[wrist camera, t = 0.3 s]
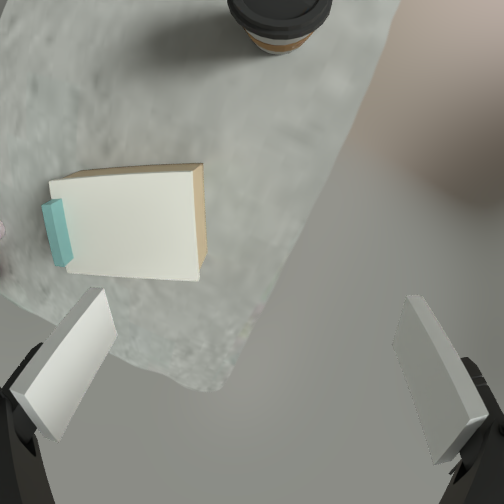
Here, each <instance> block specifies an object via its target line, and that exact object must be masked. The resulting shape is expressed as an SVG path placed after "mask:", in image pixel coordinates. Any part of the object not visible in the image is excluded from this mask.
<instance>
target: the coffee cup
mask: <svg viewBox="0 0 504 504" xmlns="http://www.w3.org/2000/svg"><path fill="white" fill-rule="evenodd" d="M227 4H228V6H229V9H230V12H231V14H232V16H233V17H234V18H235V20H236V21H237V22H238V23H239V24H240V25H241V26H242V27H243V28H244V30H245V31H246V32H247V34H248V35H249V37H250V38H251V39H252V41H253V42H254V43H255V44H256V45H257V46H258V47H259V48H260V49H261V50H263V51H265V52H267V53H271V54H280V55H283V54H287V53H290V52H292V51H294V50H296V49H297V48H298V47H300V46H301V45H302V44H303V43H304V42H305V41H306V40H307V39H308V38H309V37H310V36H311V34H312V33H313V32H314V31H315V30H316V29H317V28H318V27H320V26H321V25H322V24H323V23H324V21H325V20H326V18H327V17H328V15H329V13H330V9H331V5H332V0H227Z"/></svg>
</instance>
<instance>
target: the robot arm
mask: <svg viewBox="0 0 504 504" xmlns="http://www.w3.org/2000/svg"><path fill="white" fill-rule="evenodd" d="M117 337H118V335H117V332H116V328H115V325H114V322H113V319H112V315H111V312H110V308H109V305H108V301H107V298H106V294H105V290H104V288H95V287H90V288H89V289H88V290H87V292H86V293H85V294H84V295H83V296H82V297H81V298H80V300H79V301H78V302H77V303H76V304H75V305H74V307H73V308H72V309H71V310H70V311H69V313H68V314H67V315H66V316H65V317H64V319H63V320H62V321H61V322H60V323H59V325H58V326H57V327H56V328H55V330H54V331H53V332H52V334H50V336H49V337H48V338H47V339H46V341H45V342H44V343H39V344H38V345H37V346H35V347H34V348H32V349H31V350H30V352H29V353H28V354H27V356H26V357H25V359H24V360H23V361H22V362H21V363H20V366H18V367H17V369H16V370H15V371H14V373H13V374H12V375H11V377H10V378H9V379H8V381H7V382H6V383H5V385H4V386H3V388H2V389H1V387H0V504H55V502H54V499H53V496H52V493H51V490H50V486H49V483H48V480H47V476H46V473H45V469H44V465H43V461H42V457H41V453H40V449H39V445H38V440H37V438H36V435H35V434H34V432H35V431H36V429H38V430H39V431H40V433H41V434H42V435H43V436H44V437H45V438H48V439H50V440H53V441H56V442H58V443H59V441H60V439H61V437H62V435H63V433H64V432H65V430H66V428H67V426H68V424H69V422H70V420H71V418H72V416H73V414H74V412H75V411H76V409H77V407H78V405H79V403H80V401H81V399H82V398H83V396H84V394H85V392H86V390H87V388H88V387H89V385H90V383H91V381H92V380H93V378H94V376H95V374H96V372H97V371H98V369H99V367H100V365H101V364H102V362H103V360H104V358H105V357H106V355H107V353H108V352H109V350H110V348H111V347H112V345H113V343H114V342H115V340H116V338H117ZM392 346H393V349H394V351H395V353H396V356H397V359H398V361H399V364H400V366H401V369H402V372H403V374H404V377H405V380H406V382H407V385H408V388H409V390H410V393H411V396H412V399H413V402H414V405H415V408H416V411H417V413H418V416H419V419H420V423H421V426H422V429H423V432H424V435H425V438H426V441H427V445H428V447H429V451H430V454H431V458H432V461H433V465H436V464H441V463H444V462H448V461H451V460H452V459H453V458H454V457H455V456H456V455H457V454H458V453H459V452H460V455H461V458H462V459H461V460H460V461H459V462H458V464H457V465H456V466H455V467H454V468H453V469H452V470H451V471H450V473H449V474H450V475H451V474H452V473H453V472H454V471H455V472H454V474H453V476H452V478H451V481H450V483H449V485H448V487H447V489H446V491H445V493H444V495H443V497H442V499H441V501H440V503H439V504H504V414H503V413H502V411H501V409H500V407H499V405H498V403H497V402H496V399H495V398H494V395H493V393H492V392H491V390H490V388H489V386H488V385H487V382H486V381H485V379H484V377H482V374H481V372H480V370H479V368H478V367H477V365H476V364H475V363H474V362H473V361H471V360H470V359H469V358H468V357H464V358H460V357H459V356H458V354H457V352H456V350H455V349H454V347H453V345H452V344H451V342H450V340H449V338H448V337H447V335H446V333H445V332H444V330H443V328H442V327H441V325H440V323H439V322H438V320H437V319H436V317H435V315H434V314H433V312H432V311H431V309H430V308H429V306H428V305H427V303H426V301H425V300H424V298H423V297H422V295H406V298H405V302H404V306H403V309H402V313H401V316H400V320H399V323H398V327H397V330H396V333H395V337H394V340H393V343H392Z"/></svg>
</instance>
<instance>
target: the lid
mask: <svg viewBox="0 0 504 504" xmlns="http://www.w3.org/2000/svg"><path fill="white" fill-rule="evenodd" d="M49 187H50V194H51V200H50V201H48V202H46V203H45V204H43V205H41V206H42V212H43V217H44V222H45V226H46V231H47V235H48V240H49V244H50V248H51V252H52V256H53V260H54V264H55V266H61V267H65V266H66V269H67V273H73V274H86V275H100V276H114V277H130V278H146V279H163V280H182V281H199V278H200V275H199V263H198V250H197V237H196V222H195V206H194V189H193V170H191V171H160V172H139V173H123V174H108V175H96V176H84V177H74V178H64V179H55V180H51V181H49Z"/></svg>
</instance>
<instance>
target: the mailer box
mask: <svg viewBox="0 0 504 504" xmlns="http://www.w3.org/2000/svg"><path fill="white" fill-rule="evenodd" d="M191 170H193V189H194V206H195V222H196V237H197V250H198V263H199V270H200V268H201V265H202V263H203V261H204V259H205V256H206V254H207V238H206V220H205V200H204V177H203V163H189V164H163V165H144V166H128V167H115V168H103V169H92V170H82V171H78V172H76V173H74V174H71V175H69V176H67V177H64V178H74V177H84V176H96V175H108V174H123V173H139V172H160V171H191ZM64 178H62V179H64Z"/></svg>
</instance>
